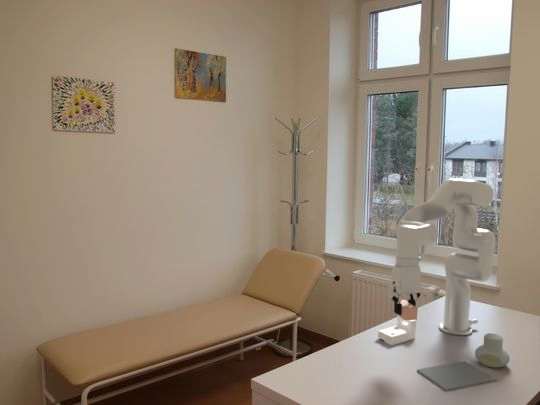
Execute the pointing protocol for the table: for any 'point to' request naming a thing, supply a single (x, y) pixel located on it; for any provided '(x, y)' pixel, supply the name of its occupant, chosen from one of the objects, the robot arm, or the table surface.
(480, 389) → the table surface
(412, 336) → the bracket
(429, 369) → the mat
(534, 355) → the table surface
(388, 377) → the table surface
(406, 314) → the card box
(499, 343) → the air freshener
